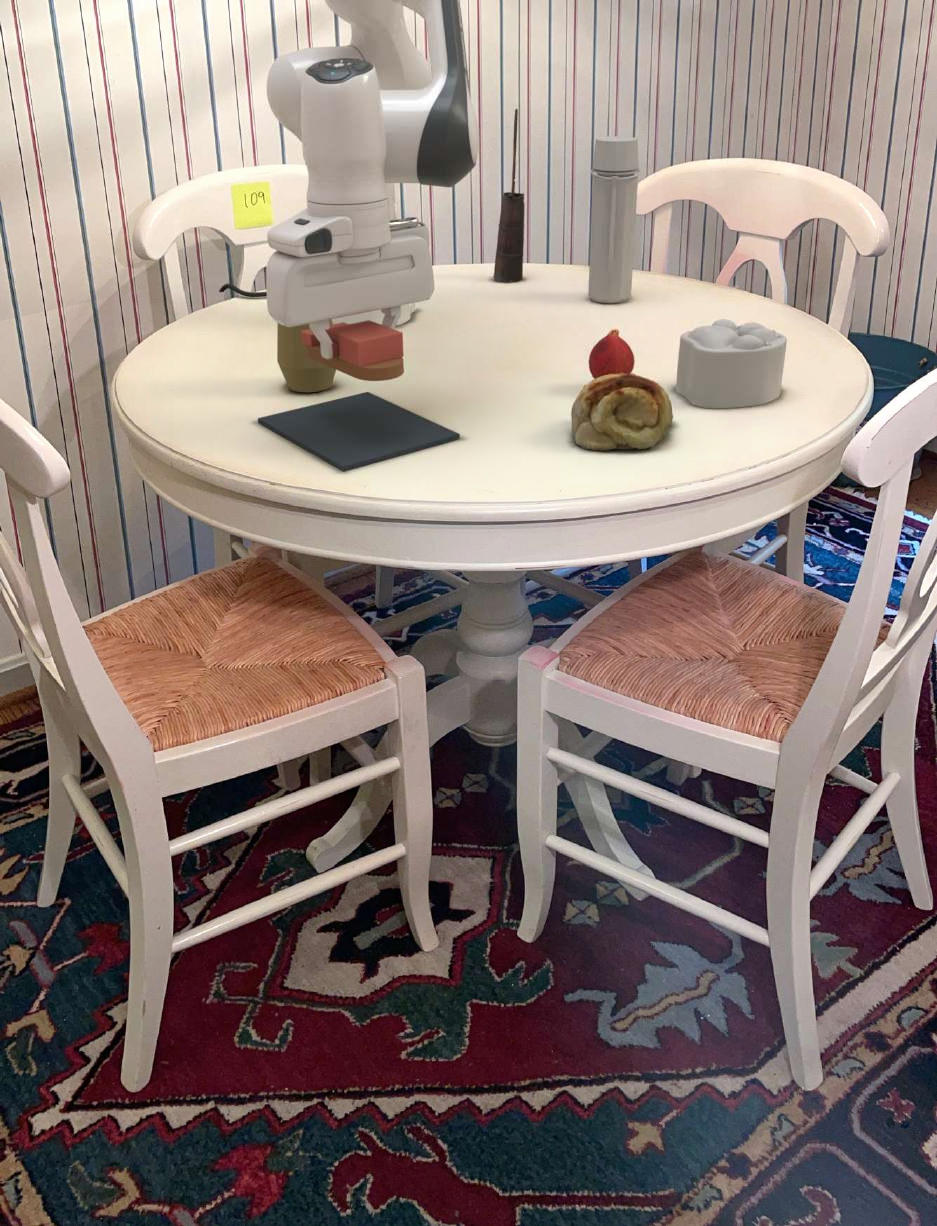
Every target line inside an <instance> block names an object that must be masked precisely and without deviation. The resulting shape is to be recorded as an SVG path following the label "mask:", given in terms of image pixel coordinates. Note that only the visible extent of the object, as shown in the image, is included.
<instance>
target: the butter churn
mask: <svg viewBox="0 0 937 1226" xmlns="http://www.w3.org/2000/svg"><path fill="white" fill-rule="evenodd" d="M518 115H519V109H518V108H516V109H514V119H513V140H512V142H513V143H512V144H513V145H512V146H513V147H512V172H511V191H506V192H503V194H502V198H501V206H500V214H499V222H498V223H499V224H498V230H497V241H496V242H497V243H496V251H495V259H494V270H493V280H494V281H497V282H501V283H511V282H519V281H522V280H523V279H524V278H523V277H524V273H523V271H524V247H525V246H524V245H525V244H524V242H525V193H524V192H522V193H521V192H515V190H516V188H515V187H516V181H515V180H516V169H517V167H516V165H517V162H516V161H517V145H518V144H517V141H518V139H517V138H518V121H519V120H518V117H519V116H518Z"/></svg>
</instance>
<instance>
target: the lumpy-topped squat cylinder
mask: <svg viewBox="0 0 937 1226" xmlns="http://www.w3.org/2000/svg"><path fill="white" fill-rule="evenodd" d="M679 337H680V338H679V348H678V356H677V357H678V359H677V370H676V381H675V392H676V393H677V394H678V395H681V396H682V397H684V398H686V400H687V401H688V403H689V404H690V405H692V406H695V407H697V408H698V407H699V408H704V409H735V408H747V407H755V406H756V407H757V406H761V405H764V404H767V403H770V402H773V401H775V400H777V399H778V398H779V397H780V395H781V390H782V383H783V374H784V368H785V367H784V366H785V361H786V351H787V341H788V340H787V339H788V338H787V337H786V335H784V334H782V333H779V332H777V331H776V330H774V329H769V328H767V327H766V326H765V325H763V324H762V323H758V322H754V321H753V322H752V321H751V322H747V323H743V324H740V325H737V324H736V322H734V321H732V320H729V319H727V318H721V319H717V320H715V321H714V322H712V324H711V325H702V326H698V327H696V328H694V329H693V330H689V331H685V332H684V333H682V334H681V335H680V336H679Z"/></svg>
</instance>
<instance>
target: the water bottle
mask: <svg viewBox="0 0 937 1226" xmlns="http://www.w3.org/2000/svg"><path fill="white" fill-rule="evenodd" d="M638 142H639V139H638V138H637V137H634V136H625V135H624V136H623V135H622V136H621V135H614V136H613V135H612V136H610V135H609V136H599V137H596V138H595V142H594V151H593V158H592V168H591V169H590V174H591V175H592V190H591V191H592V194H591V218H590V219H591V220H590V241H589V242H590V243H589V244H590V245H589V266H588V289H587V295H588V296H589V298H590V299H591V301H594V302H596V303H599V304H609V305H610V304H620V303H624V302H627V301H628V300H629V299H630V297H631V296H632V289H633V288H632V287H633V269H634V253H635V238H636V236H635V235H636V220H637V219H636V218H637V204H638V201H637V200H638V187H639V176H640V175H641V172H642V170H641V169H640V168H639V167H640V166H639V143H638Z"/></svg>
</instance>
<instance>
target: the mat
mask: <svg viewBox="0 0 937 1226" xmlns="http://www.w3.org/2000/svg"><path fill="white" fill-rule="evenodd" d="M257 422H258V424H259V425H262V426H263V427H265V428H267V429H268V430H269V431H272V432H274V433H276V434H278V435H279V436H280V437H283V438H285V439H286V440H288V441H290V442H292V443H294V444H295V445H297V446H298V447H300V448H302V449H304V450H306V451H307V452H309V453H311V454H312V455H314V456H316V457H318V458H320V459H322V460H323V461H324V462H326V463H329V465H332V466H334V467H336V468H337V469H339V470H341V471H342V472H345V471H350V470H353V469H356V468H360V467H364V466H367V465H370V464H374V463H379V462H381V461H386V460H388V459H391V458H395V457H399V456H402V455H406V454H410V453H413V452H417V451H421V450H423V449H427V448H430V447H435V446H438V445H442V444H445V443H449V442H452V441H456V440H459V439H461V434H460V433H459V432H456V431H454V430H452V429H450V428H448V427H446V426H443V425H441V424H439V423H436V422H435V421H433V420H430V419H428V418H426V417H424V416H422V415H420V414H417V413H415V412H413V411H411V410H408V409H406V408H404V407H402V406H399V405H398V404H396V403H393V402H390V401H389V400H386V399H385V398H382V397H380V396H378V395H376V394H373V393H372V392H370V391H365V392H361V393H356V394H353V395H349V396H344V397H340V398H336V399H332V400H327V401H323V402H319V403H315V404H311V405H307V406H302V407H298V408H295V409H290V410H287V411H282V412H278V413H274V414H269V415H265V416H261V417H258V418H257Z"/></svg>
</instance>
